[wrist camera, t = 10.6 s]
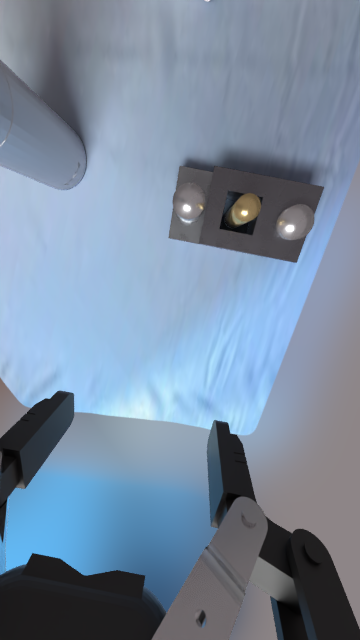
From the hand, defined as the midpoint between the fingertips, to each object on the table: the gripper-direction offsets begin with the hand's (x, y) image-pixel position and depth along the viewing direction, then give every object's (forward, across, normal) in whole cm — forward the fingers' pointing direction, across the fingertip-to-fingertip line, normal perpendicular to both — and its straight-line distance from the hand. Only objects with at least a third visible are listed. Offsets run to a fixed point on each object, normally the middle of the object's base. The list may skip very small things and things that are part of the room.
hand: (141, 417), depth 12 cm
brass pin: (+30, -6, -15) cm, 34 cm away
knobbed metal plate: (+30, -7, -15) cm, 34 cm away
